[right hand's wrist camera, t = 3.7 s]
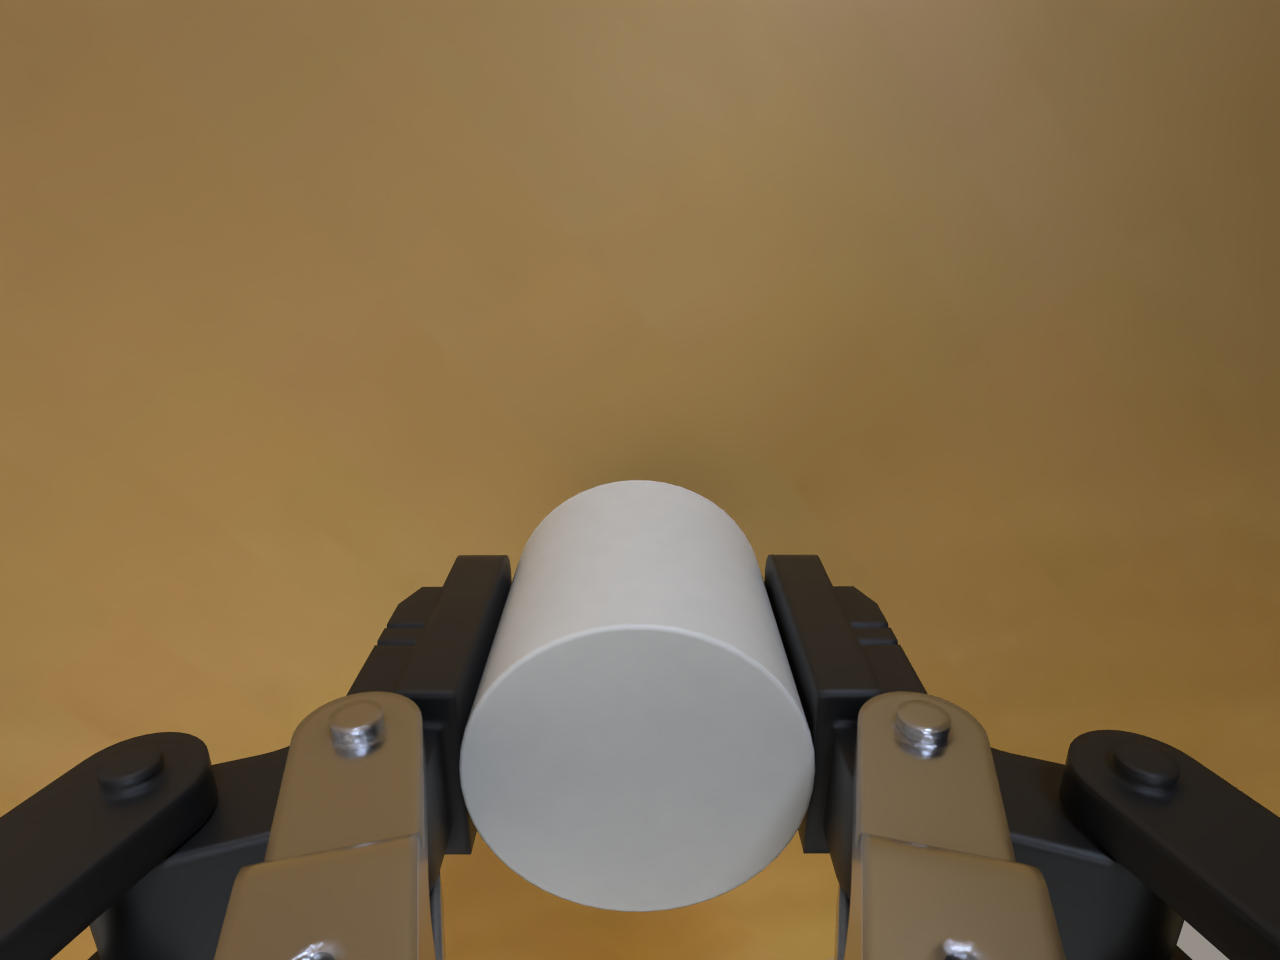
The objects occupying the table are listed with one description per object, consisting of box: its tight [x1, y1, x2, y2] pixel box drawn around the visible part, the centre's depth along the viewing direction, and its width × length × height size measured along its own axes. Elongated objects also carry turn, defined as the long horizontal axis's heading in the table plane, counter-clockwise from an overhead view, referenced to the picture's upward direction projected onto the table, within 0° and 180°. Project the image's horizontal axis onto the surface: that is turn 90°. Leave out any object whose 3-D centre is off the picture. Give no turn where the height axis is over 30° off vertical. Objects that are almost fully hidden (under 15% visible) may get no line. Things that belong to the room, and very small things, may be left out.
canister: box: [459, 480, 815, 912], centre depth 11 cm, size 4×4×4 cm
